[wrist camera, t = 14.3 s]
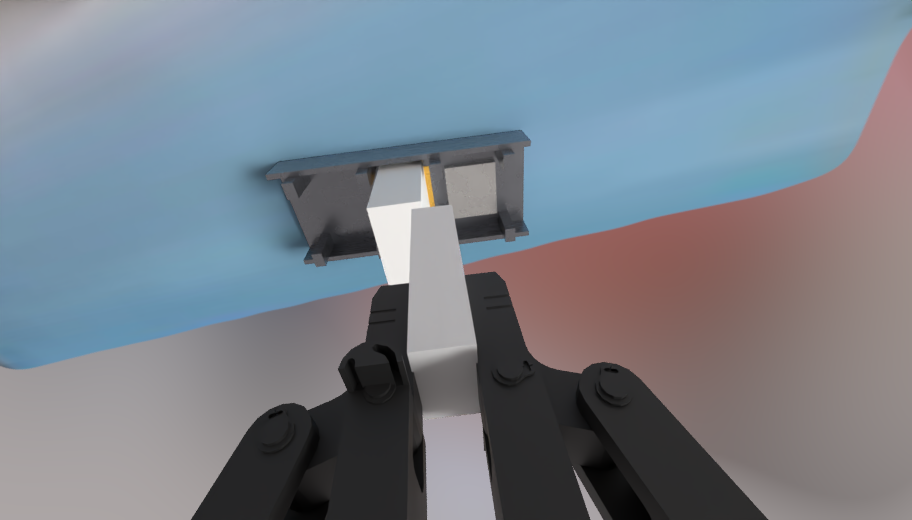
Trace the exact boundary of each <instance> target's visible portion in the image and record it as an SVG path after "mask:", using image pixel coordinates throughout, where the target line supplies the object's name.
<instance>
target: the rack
mask: <svg viewBox="0 0 912 520" xmlns="http://www.w3.org/2000/svg"><path fill="white" fill-rule="evenodd" d="M530 144H531V140H530V139H529V138H528V137H527V136H526V135H525V134H524V132H523V131H522V130H518V131H511V132H503V133H495V134H488V135H480V136H472V137H465V138H457V139H449V140H442V141H434V142H426V143H418V144H411V145H403V146H395V147H388V148H380V149H372V150H365V151H357V152H349V153H342V154H334V155H326V156H319V157H311V158H303V159H295V160H288V161H280V162H278V163H277V164H276V165H275V166H274V167H273V168H272V169H271V170H270V171H269V172H268V173H267V174H266V175H265V176H266V178H267V180H273V179H281V181H282V184H281V186H282V188H283V190H284V193H285V195H286V197H287V200H290V202H291V204H292V207H293V209H294V211H295V214H296V216H297V218H298V221H299V223H300V225H301V228H302V230H303V232H304V235H305V237H306V239H307V242H308V244H309V247H310V249H309V251H308V253H307V255H306V257H305V259H304V263H305V264H312V263H315V265H316V267H319V266H326V264H327V262H328V261H335V260H342V259H350V258H358V257H365V256H373V255H379V259H380V258H381V257H380V253H379V250H378V246H377V243H376V239H375V236H374V232H373V229H372V226H371V222H370V219H369V215H368V212H367V205H368V202H369V199H370V195H371V192H372V189H373V185H374V182H375V179H376V175H377V172H378V169H379V166H381V165H388V164H396V163H404V162H412V161H419V160H422V162H423V168H424V174H425V180H426V186H427V192H428V198H429V204H430V207H435V206H444V205H452V208H453V213H454V219H455V225H456V230H457V236H458V242H459V244H465V243H473V242H480V241H488V240H496V239H503V238H504V239H505V242H510V241H515V237H519V236H526V235H529V231H528V229H527V227H526V225H525V223H524V221H523V175H524V147H527V146H530Z"/></svg>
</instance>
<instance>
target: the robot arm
mask: <svg viewBox="0 0 912 520" xmlns="http://www.w3.org/2000/svg"><path fill="white" fill-rule="evenodd" d="M370 312H371V314H370V317H369V326H368V330H367V336H366V342H365V343H362V344H360V345H358V346H357V347H355V348H353V349H351V350H350V351H349V353H348V354H347V355H346V356H345V357H344V358H343V359H342V361H341V363H340V366H339V368H338V370H339V373H340V375H341V377H342V379H343V381H344V383H345V386H346V388H347V391H346V392H344V393H343V394H342V395H340V396H339V397H337V398H335V399H333V400H331V401H329V402H326V403H324V404H322V405H319V406H317V407H315V408H312V409H310V410H308V411H307V410H306V408H305V407H304V406H301V405H298V404H295V403H290V404H282V405H279V406H277V407H274V408H272V409H270V410H268V411H267V412H266V413H264V414H263V415H262V416H260V417H259V418H257V420H256V421H255V422H254V423H253V425H252V426H251V427H250V428H249V429H248V431H247V432H246V434H245V435H244V437H243V438H242V440H241V442H240V443H239V445H238V447H237V448H236V450H235V451H234V453H233V454H232V456H231V458H230V459H229V461H228V462H227V464H226V465H225V467H224V468H223V470H222V472H221V473H220V475H219V477H218V478H217V480H216V481H215V483H214V484H213V486H212V487H211V489H210V491H209V492H208V494H207V495H206V497H205V499H204V500H203V502H202V503H201V505H200V506H199V508H198V510H197V511H196V513H195V514H194V516H193V517H192V519H191V520H427V496H426V495H427V494H426V449H425V448H426V446H425V439H424V435H423V421H422V420H423V418H424V420H429V419H436V418H443V417H452V416H460V415H467V414H475V413H481V417H482V424H483V438H484V451H486V457H487V463H488V470H489V476H490V483H491V489H492V496H493V502H494V509H495V516H496V520H590V517H589V514H588V511H587V508H586V505H585V503H584V500H583V496H582V494H581V491H580V488H579V485H578V482H577V479H576V476H575V473H574V470H575V471H576V473H577V475H578V477H579V478H580V480H581V482H582V483H583V485H584V487H585V489H586V490H587V492H588V494H589V495H590V497H591V499H592V501H593V502H594V504H595V506H596V508H597V509H598V511H599V512H600V514H601V516H602V518H603V520H768V519H767V518H766V517H765V516H764V514H763V513H762V512H761V511H760V510H759V509H758V508H757V507H756V506H755V505H754V504H753V502H752V501H751V500H750V499H749V498H748V497H747V496H746V495H745V494H744V493H743V491H742V490H741V489H740V488H739V487H738V486H737V485H736V484H735V483H734V482H733V480H732V479H731V478H730V477H729V476H728V475H727V474H726V473H725V472H724V471H723V470H722V468H721V467H720V466H719V465H718V464H717V463H716V462H715V461H714V460H713V458H712V457H711V456H710V455H709V454H708V453H707V452H706V451H705V450H704V449H703V448H702V447H701V445H700V444H699V443H698V442H697V441H696V440H695V439H694V438H693V437H692V435H690V433H689V432H688V431H687V430H686V429H685V428H684V427H683V426H682V425H681V423H680V422H679V421H678V420H677V419H676V418H675V417H674V416H673V415H672V414H671V412H669V410H668V409H667V408H666V407H665V406H664V405H663V404H662V403H661V401H660V400H659V399H658V398H657V397H656V396H655V395H654V394H653V393H652V391H651V390H650V389H649V388H648V387H647V386H646V385H645V384H644V383H643V382H642V381H641V379H639V378H638V377H637V376H636V375H635V374H634V373H632V372H631V371H630V370H628V369H626V368H624V367H622V366H620V365H617V364H612V363H606V362H602V363H596V364H592V365H590V366H589V367H587V368H586V369H584V371H583V372H582V374H579V373H573V372H567V371H561V370H556V369H553V368H549V367H547V366H545V365H543V364H541V363H540V362H538V361H537V360H536V359H534V358H533V356H532V355H531V354H530V353H529V351H528V349H527V347H526V345H525V342H524V339H523V336H522V332H521V329H520V326H519V323H518V320H517V317H516V314H515V311H514V308H513V306H512V302H511V298H510V296H509V292H508V289H507V286H506V283H505V281H504V280H503V279H502V278H501V277H500V276H499V275H498V274H497V273H496V272H488V273H480V274H471V275H464V271H463V264H462V258H461V253H460V247H459V242H458V236H457V230H456V225H455V219H454V213H453V208H452V205H444V206H435V207H426V208H417V209H411V240H410V272H409V283H404V284H395V285H387V286H381V287H380V288H379V290H378V291H377V293H376V294H375V296H374V297H373V299H372V305H371V311H370ZM422 414H423V417H422ZM572 466H573V467H572ZM573 468H574V470H573Z"/></svg>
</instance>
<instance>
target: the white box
mask: <svg viewBox="0 0 912 520" xmlns="http://www.w3.org/2000/svg"><path fill="white" fill-rule="evenodd" d="M426 207H430V204H429V198H428V192H427V186H426V180H425V174H424V168H423V162H422V160H419V161H412V162H404V163H396V164H388V165H381V166H379V169H378V172H377V175H376V179H375V182H374V185H373V189H372V192H371V195H370V199H369V202H368V205H367V212H368V215H369V219H370V222H371V226H372V229H373V232H374V236H375V239H376V243H377V246H378V250H379V253H380V257H381V260H382V264H383V267H384V271H385V274H386V277H387V281H388V284H389V285H395V284H404V283H409V272H410V240H411V209H417V208H426Z"/></svg>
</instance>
